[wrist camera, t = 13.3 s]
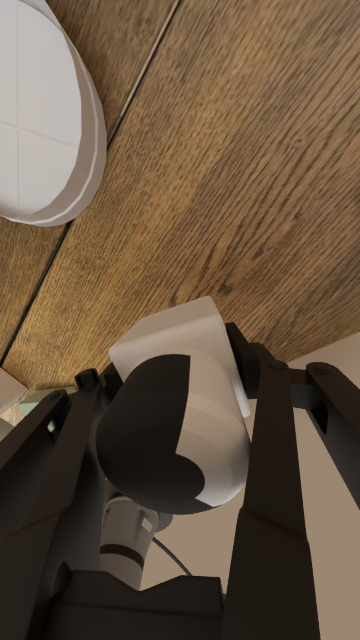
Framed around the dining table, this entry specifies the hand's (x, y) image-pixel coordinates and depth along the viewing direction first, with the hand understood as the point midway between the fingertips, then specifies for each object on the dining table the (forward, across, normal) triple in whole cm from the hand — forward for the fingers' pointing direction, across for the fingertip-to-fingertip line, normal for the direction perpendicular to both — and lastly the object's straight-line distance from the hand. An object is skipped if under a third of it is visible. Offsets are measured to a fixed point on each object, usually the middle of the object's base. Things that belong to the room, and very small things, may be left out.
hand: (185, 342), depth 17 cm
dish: (+13, -18, +27) cm, 35 cm away
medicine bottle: (+1, 0, 0) cm, 1 cm away
